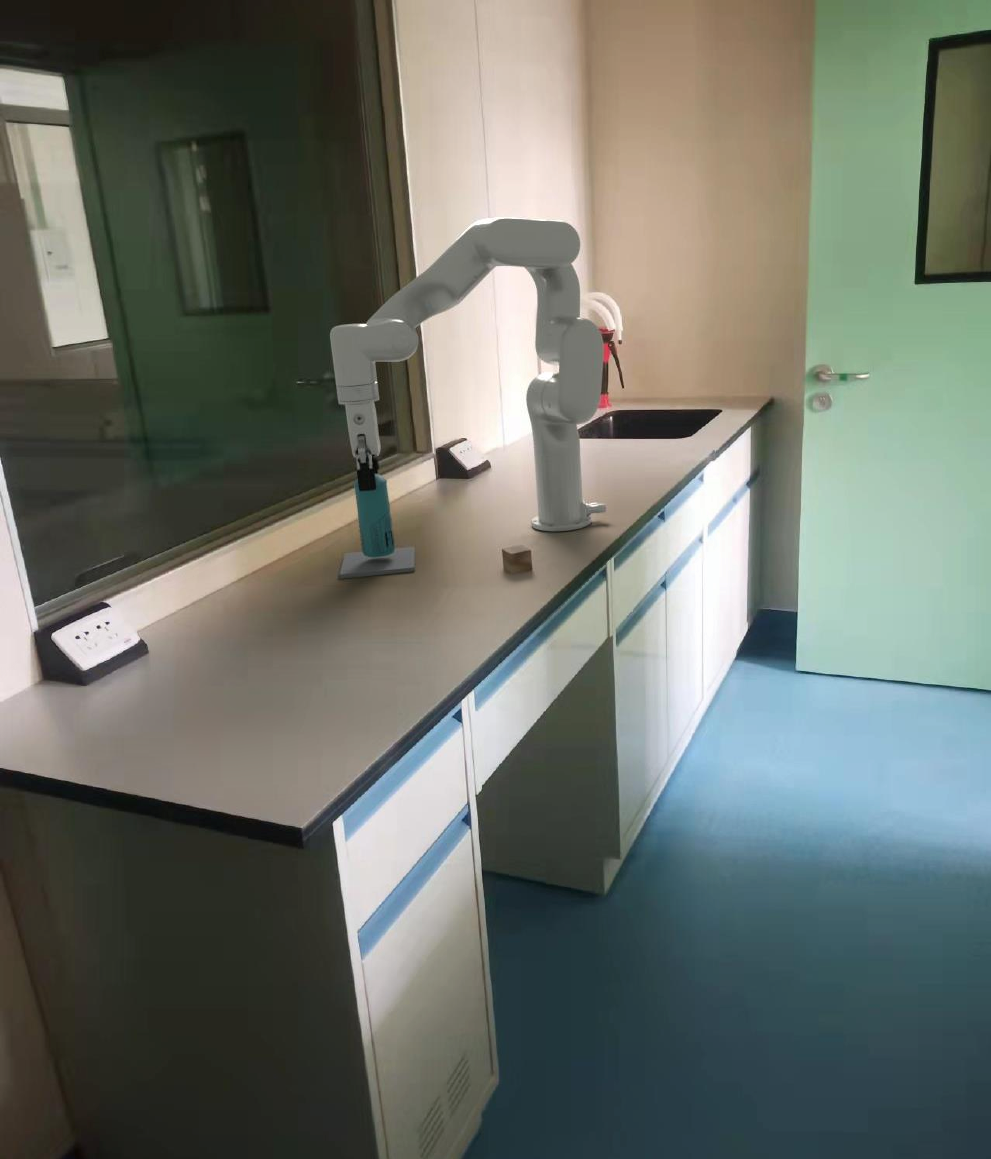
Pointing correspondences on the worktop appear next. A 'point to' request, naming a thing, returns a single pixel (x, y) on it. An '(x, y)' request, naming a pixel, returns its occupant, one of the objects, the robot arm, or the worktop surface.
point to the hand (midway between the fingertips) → (369, 484)
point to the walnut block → (517, 559)
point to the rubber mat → (378, 563)
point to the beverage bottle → (375, 517)
